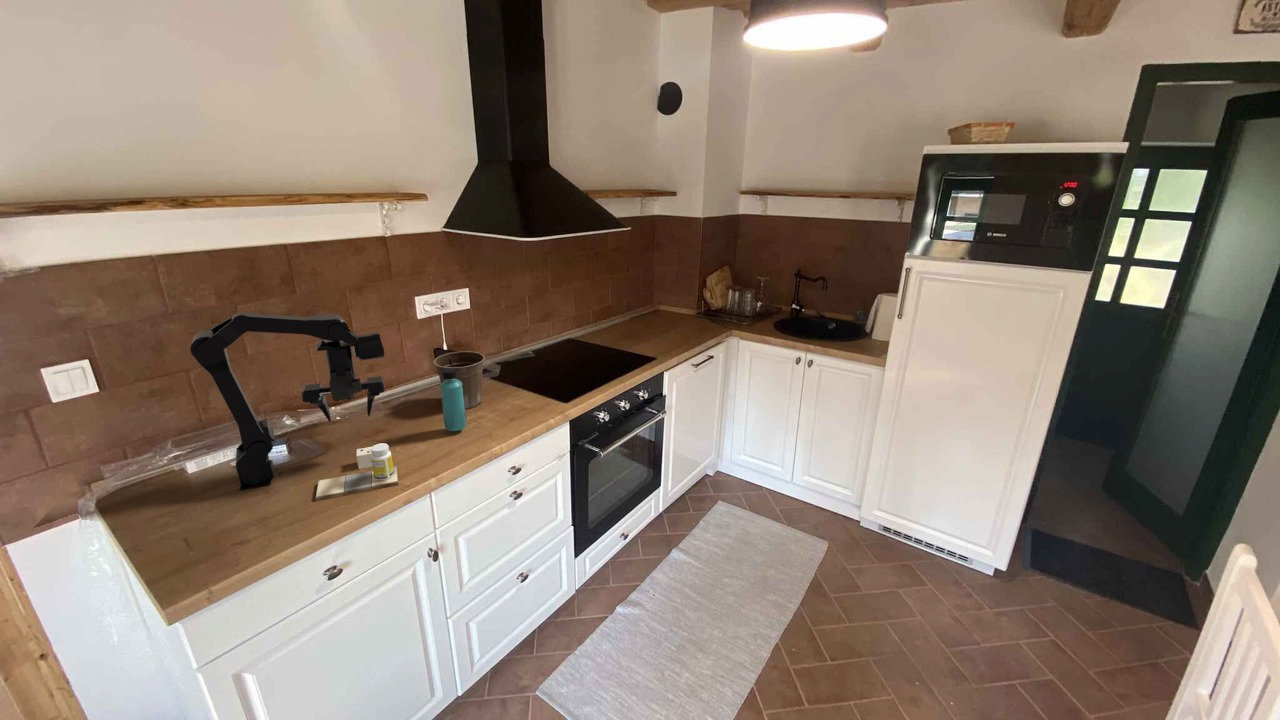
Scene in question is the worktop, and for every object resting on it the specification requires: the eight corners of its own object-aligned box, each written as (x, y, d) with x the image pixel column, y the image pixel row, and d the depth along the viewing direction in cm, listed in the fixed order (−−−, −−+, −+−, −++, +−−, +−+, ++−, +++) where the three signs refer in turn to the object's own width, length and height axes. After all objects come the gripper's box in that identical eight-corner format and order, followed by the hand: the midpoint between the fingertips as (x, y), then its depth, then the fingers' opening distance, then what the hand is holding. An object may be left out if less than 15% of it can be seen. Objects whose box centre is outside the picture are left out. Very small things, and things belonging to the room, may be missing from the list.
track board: (316, 500, 125) (315, 497, 124) (319, 483, 131) (318, 480, 131) (398, 484, 132) (397, 481, 132) (397, 469, 139) (396, 465, 139)
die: (358, 469, 139) (356, 456, 137) (359, 462, 142) (356, 449, 141) (375, 466, 140) (373, 453, 139) (375, 459, 144) (373, 446, 142)
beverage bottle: (471, 431, 161) (465, 370, 154) (451, 438, 156) (444, 375, 149) (460, 424, 165) (454, 364, 158) (440, 430, 160) (433, 369, 154)
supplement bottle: (388, 469, 137) (384, 440, 134) (397, 475, 134) (393, 446, 131) (370, 476, 134) (365, 447, 131) (379, 483, 131) (374, 453, 128)
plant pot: (448, 417, 169) (443, 370, 164) (431, 400, 181) (426, 356, 176) (495, 405, 179) (492, 360, 174) (476, 390, 191) (473, 348, 186)
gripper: (293, 378, 124) (305, 437, 129) (380, 369, 132) (388, 424, 137) (299, 364, 134) (310, 419, 139) (380, 355, 141) (387, 408, 147)
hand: (349, 418), depth 140 cm, fingers open, 9 cm apart
